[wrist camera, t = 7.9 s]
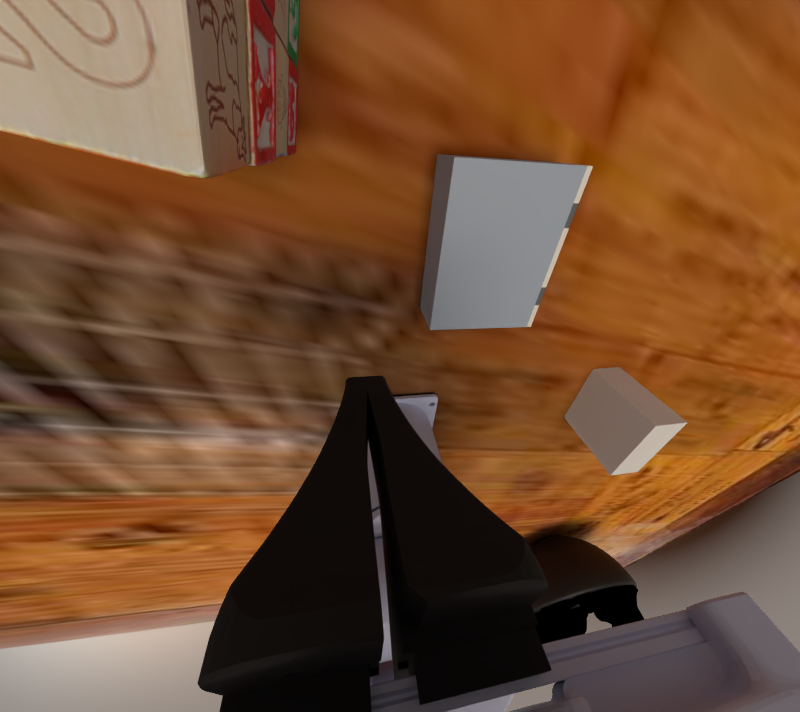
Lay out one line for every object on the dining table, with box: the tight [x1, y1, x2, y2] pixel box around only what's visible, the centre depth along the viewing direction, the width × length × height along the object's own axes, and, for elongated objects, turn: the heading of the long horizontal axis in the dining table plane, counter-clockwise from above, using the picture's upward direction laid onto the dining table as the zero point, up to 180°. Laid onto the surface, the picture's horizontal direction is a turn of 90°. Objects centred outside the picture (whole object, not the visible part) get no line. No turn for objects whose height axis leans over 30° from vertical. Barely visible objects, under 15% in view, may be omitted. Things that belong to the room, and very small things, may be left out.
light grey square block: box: [564, 367, 687, 475], centre depth 27 cm, size 7×3×7 cm, turn 176°
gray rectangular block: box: [420, 154, 593, 330], centre depth 17 cm, size 9×3×7 cm
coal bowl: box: [530, 536, 644, 644], centre depth 50 cm, size 20×20×19 cm
